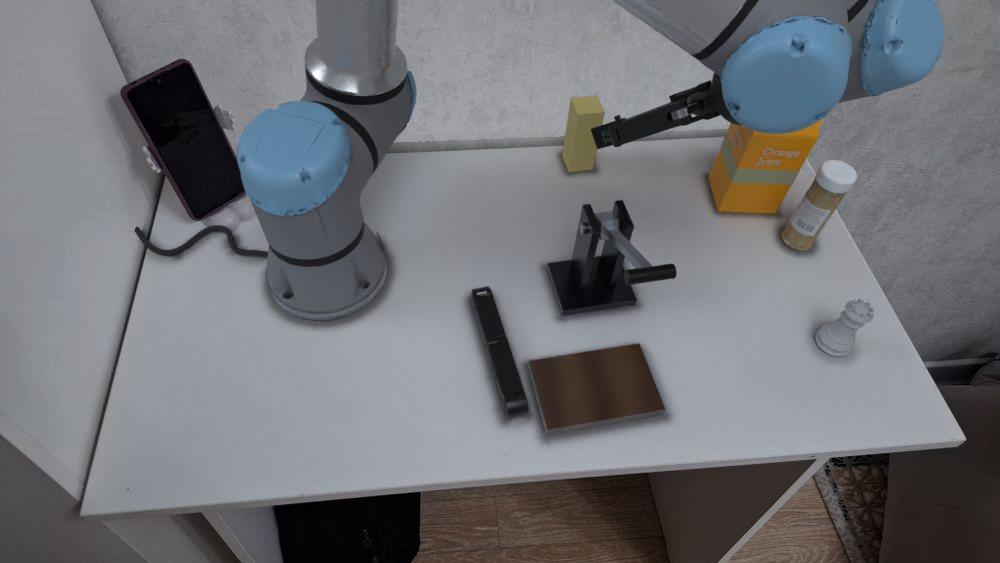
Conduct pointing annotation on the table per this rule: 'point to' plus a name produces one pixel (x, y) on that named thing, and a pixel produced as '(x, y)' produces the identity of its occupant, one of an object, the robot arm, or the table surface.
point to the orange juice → (758, 168)
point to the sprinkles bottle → (818, 204)
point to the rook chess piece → (844, 328)
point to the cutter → (593, 268)
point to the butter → (582, 133)
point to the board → (594, 389)
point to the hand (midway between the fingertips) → (636, 121)
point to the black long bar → (499, 354)
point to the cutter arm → (632, 253)
